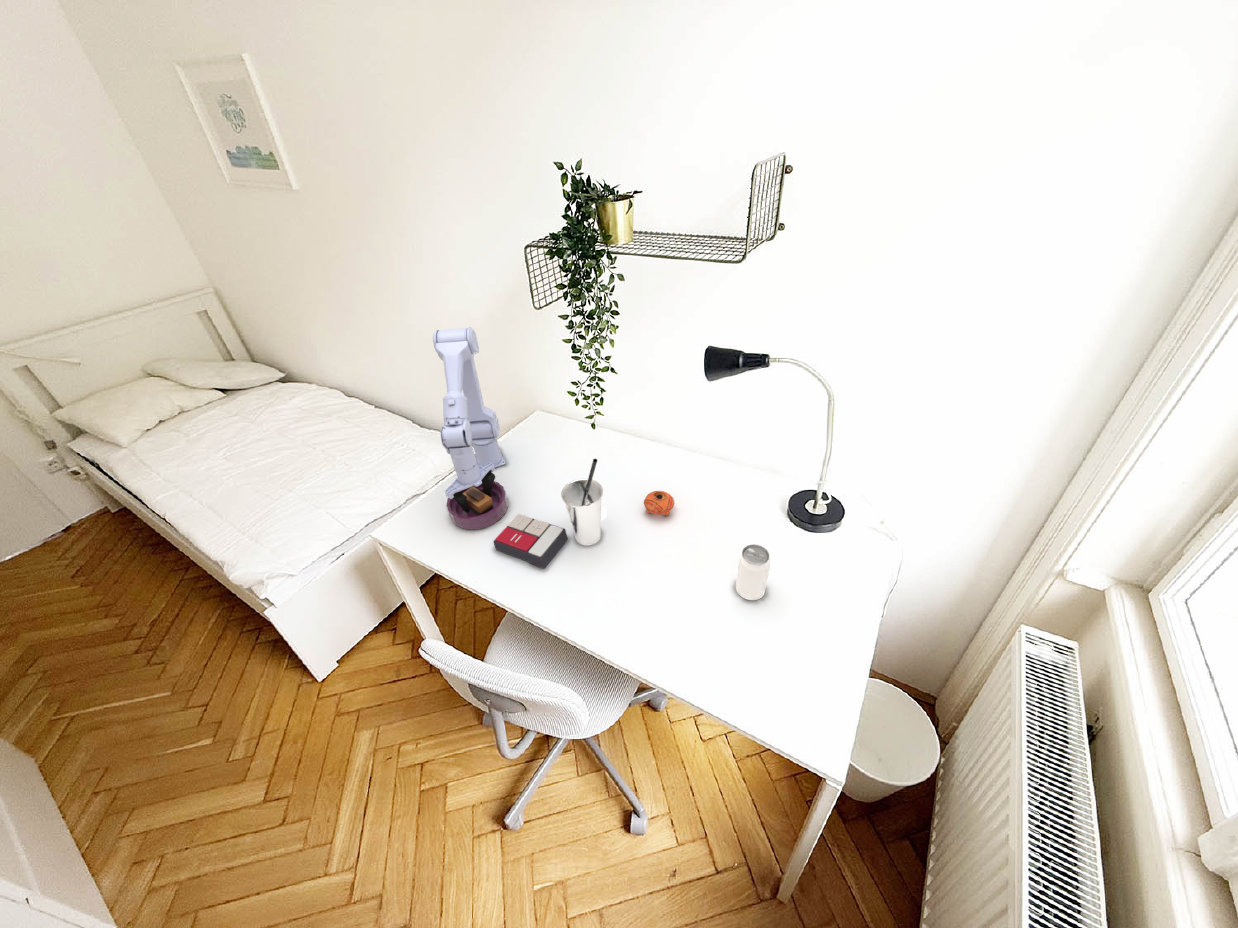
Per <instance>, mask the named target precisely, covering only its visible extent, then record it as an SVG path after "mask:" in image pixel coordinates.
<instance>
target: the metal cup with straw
mask: <svg viewBox="0 0 1238 928" xmlns="http://www.w3.org/2000/svg"><path fill="white" fill-rule="evenodd" d="M597 464H598V459H597V458H593V459H592V462H591V466H590V471H589V474H588V478H576V479H574V480H571V481H569V482H567V483H566V484H565V485H564V486H563V487H562V489H561V491H560V498H561V500H562V501H563V503H564V504H565V508H566V512H567V515H568V518H569V521H570V523H571V526H572V530H573V533H574V534H573V535H574V538H575V541H576V542H577V543H578V544H579V545H581V546H585V547H586V546H588V547H589V546H592V545H596V544H597V543H598V542H599V541H600V540H601V536H602V535H601V534H602V533H601V529H602V528H601V526H602V525H601V523H602V522H601V520H602V497H603V495H604V488H603V486H602V484H601V483H600V482H598V481H597V480H594V479H593V477H594V474H595V472H596V467H597Z"/></svg>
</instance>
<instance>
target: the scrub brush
mask: <svg viewBox="0 0 1238 928" xmlns="http://www.w3.org/2000/svg"><path fill="white" fill-rule="evenodd" d="M463 494H464V495H465V496H467V504H468V507H469V510H471V511H472V512H474V513H475V514H477V515H478V516H479V515H482V514H485V513H487V512H489V511H491V510H492V509H493V507H492V505H493V502H492V498H491V497H489V496H487V495H486V494H484V493H483V492H481V491H480V490H478V489H476V488H475V487H471V488H470V489H468V490H467V491H466V492H464V493H463Z"/></svg>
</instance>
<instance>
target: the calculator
mask: <svg viewBox="0 0 1238 928" xmlns="http://www.w3.org/2000/svg"><path fill="white" fill-rule="evenodd" d="M567 541H568V534H567V529H566V528H564V527H561V526H557V525H555V524H552V523H548V522H545V521H542V520H539V519H537V518H533V517H530V516H527V515H525V514H520V513H518V514H517V515H516V516H515V517H514V518H513V519H512V520H511V521H510V522H509V524H508V525H507V526H506V527H504V529H503V530H502V531H501V532H500V533H499V534H498V535H497V536H496V537H495V539H493V545H494V548H495V550H496V551H499V552H500V553H501V552H502V553H504V554H507V555H509V556H512V557H514V558H518V559H520V560H523V561H526V562H528V563H529V564H530V565H533V566H536V567H538V568H540V569H545V568H546V567H547V566H548V565H549V563H550V562H551V561H552V560H553V558H554V557H555V556H556V555H557V553H558V552H559V551H560V549H561V548H562V547H563V546H564V545H565V543H567Z"/></svg>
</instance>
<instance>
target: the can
mask: <svg viewBox="0 0 1238 928" xmlns="http://www.w3.org/2000/svg"><path fill="white" fill-rule="evenodd" d="M737 565H738V566H737V573H736V580H735V581H736V582H735V590H736V592H737V594H738V595H739V596H740V597H741V598H742V599H745V600H747V601H758V600H760V599H761V598H762V597H764V595H765V592H766V588H767V584H768V577H769V572H770V567H771V558H770V553H769V551H768V549H767V548H765V546H762V545H760V544H756V543H755V544H748V545H746V546H744V547H743V549H742V551H741V552H740V554H739V558H738V564H737Z"/></svg>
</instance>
